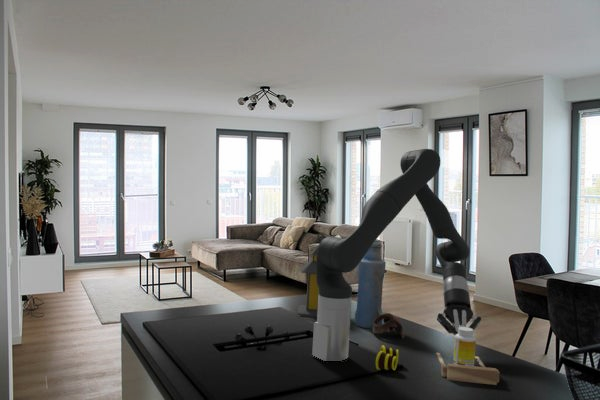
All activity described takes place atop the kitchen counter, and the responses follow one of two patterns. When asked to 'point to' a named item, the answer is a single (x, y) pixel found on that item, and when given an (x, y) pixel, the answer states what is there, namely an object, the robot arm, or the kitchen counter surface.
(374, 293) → the bottle
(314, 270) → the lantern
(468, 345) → the supplement bottle
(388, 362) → the opera glasses
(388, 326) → the brown jagged curved piece
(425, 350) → the kitchen counter surface
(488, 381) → the bay
